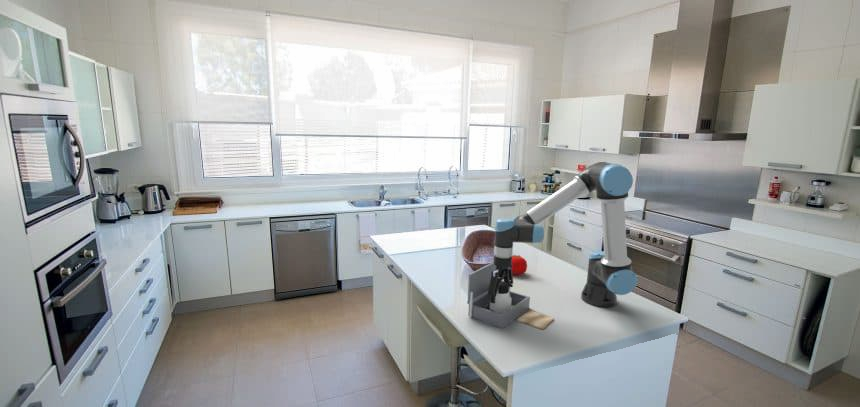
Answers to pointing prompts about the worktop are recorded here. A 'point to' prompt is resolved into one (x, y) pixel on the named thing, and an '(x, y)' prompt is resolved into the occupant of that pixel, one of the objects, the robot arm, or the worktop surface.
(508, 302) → the container
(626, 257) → the robot arm
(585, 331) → the worktop surface
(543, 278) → the worktop surface
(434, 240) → the worktop surface
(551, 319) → the mat
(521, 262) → the tomato
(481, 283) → the case
